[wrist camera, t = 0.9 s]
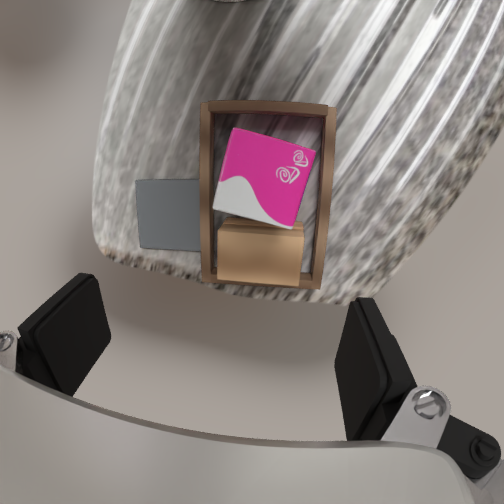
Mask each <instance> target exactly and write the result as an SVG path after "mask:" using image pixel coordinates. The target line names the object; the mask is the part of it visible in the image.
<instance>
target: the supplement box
mask: <svg viewBox="0 0 504 504" xmlns="http://www.w3.org/2000/svg"><path fill="white" fill-rule="evenodd" d="M315 154H316V151H314V150H312V149H309V148H305V147H302V146H299V145H296V144H293V143H290V142H287V141H283V140H280V139H277V138H273V137H270V136H266V135H263V134H259V133H255V132H252V131H248V130H244V129H240V128H233V130H232V131H231V135H230V138H229V141H228V145H227V149H226V152H225V156H224V160H223V164H222V168H221V172H220V177H219V181H218V185H217V189H216V194H215V198H214V202H213V209H214V210H218V211H221V212H225V213H229V214H233V215H237V216H241V217H245V218H249V219H253V220H257V221H261V222H265V223H269V224H273V225H276V226H280V227H283V228H287V229H290V230H291V229H292V228H293V225H294V223H295V220H296V216H297V213H298V210H299V207H300V204H301V200H302V197H303V194H304V191H305V188H306V184H307V181H308V177H309V174H310V171H311V168H312V164H313V161H314V157H315Z"/></svg>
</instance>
